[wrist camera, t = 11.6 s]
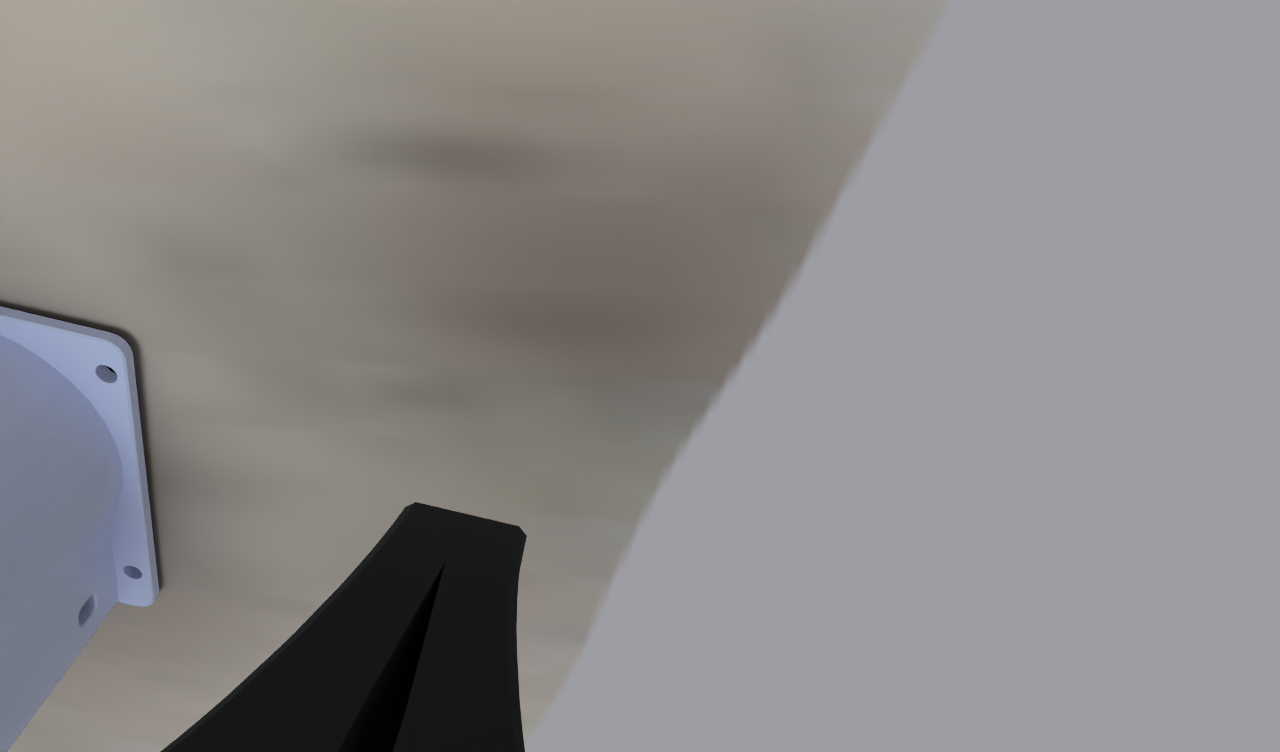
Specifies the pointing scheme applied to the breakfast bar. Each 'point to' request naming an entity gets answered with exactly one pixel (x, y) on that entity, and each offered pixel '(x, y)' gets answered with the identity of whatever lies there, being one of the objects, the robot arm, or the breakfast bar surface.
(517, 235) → the breakfast bar surface
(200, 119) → the breakfast bar surface
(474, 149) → the breakfast bar surface
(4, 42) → the breakfast bar surface
